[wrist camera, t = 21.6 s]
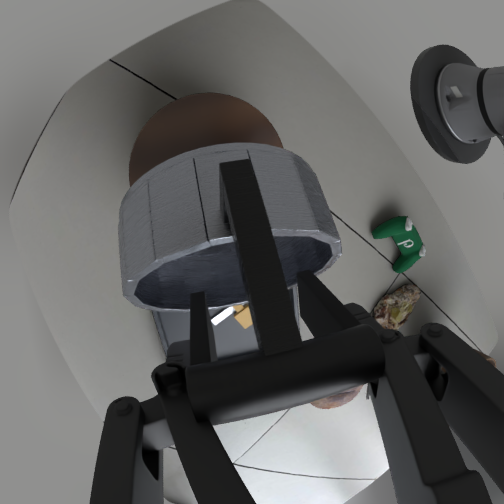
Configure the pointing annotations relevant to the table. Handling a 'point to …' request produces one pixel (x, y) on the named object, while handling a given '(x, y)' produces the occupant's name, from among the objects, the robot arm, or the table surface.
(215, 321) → the silver key
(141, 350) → the table surface
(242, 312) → the brass key
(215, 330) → the tray
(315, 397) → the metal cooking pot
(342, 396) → the decorative stone
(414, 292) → the mineral rock
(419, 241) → the gaming controller
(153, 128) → the stand
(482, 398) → the robot arm
